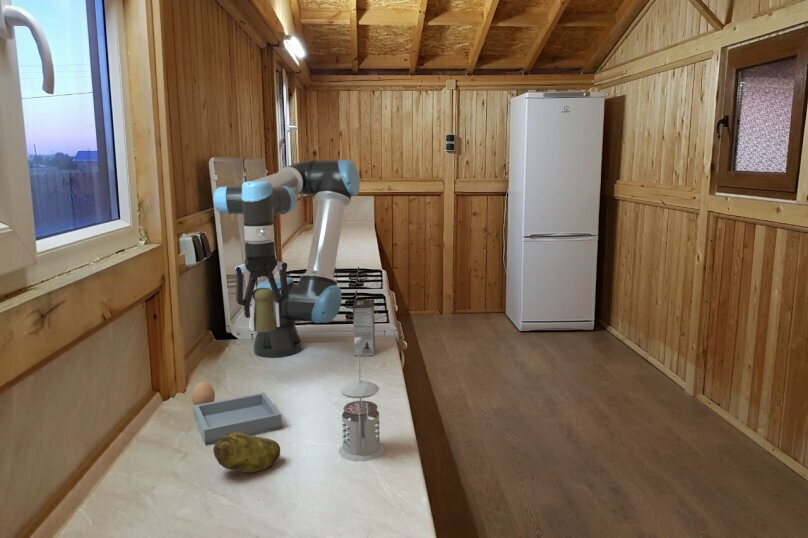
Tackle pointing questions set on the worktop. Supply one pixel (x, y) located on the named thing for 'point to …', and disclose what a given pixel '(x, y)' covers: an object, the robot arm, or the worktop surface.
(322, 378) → the worktop surface
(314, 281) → the robot arm
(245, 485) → the worktop surface
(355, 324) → the coffee box
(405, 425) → the worktop surface
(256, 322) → the cork
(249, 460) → the potato
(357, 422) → the french press
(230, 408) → the grey bin
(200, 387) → the egg
